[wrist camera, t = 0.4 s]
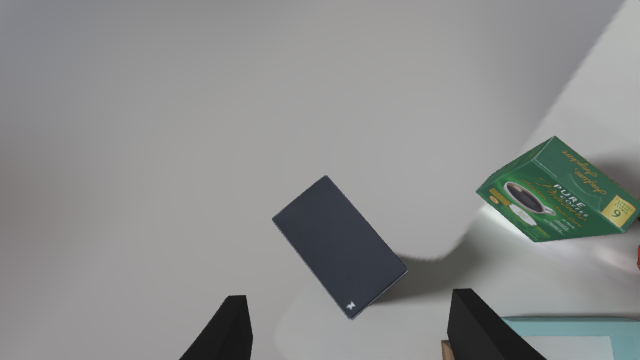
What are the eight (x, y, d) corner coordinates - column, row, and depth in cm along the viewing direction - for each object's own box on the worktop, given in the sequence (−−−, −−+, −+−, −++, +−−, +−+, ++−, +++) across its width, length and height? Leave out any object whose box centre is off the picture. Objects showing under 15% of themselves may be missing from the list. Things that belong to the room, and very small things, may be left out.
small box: (399, 269, 38) (414, 270, 28) (352, 310, 38) (349, 326, 28) (335, 194, 41) (327, 170, 31) (290, 232, 41) (267, 220, 30)
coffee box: (554, 226, 38) (652, 205, 25) (536, 246, 38) (626, 235, 25) (491, 173, 40) (553, 130, 27) (473, 192, 39) (527, 157, 27)
